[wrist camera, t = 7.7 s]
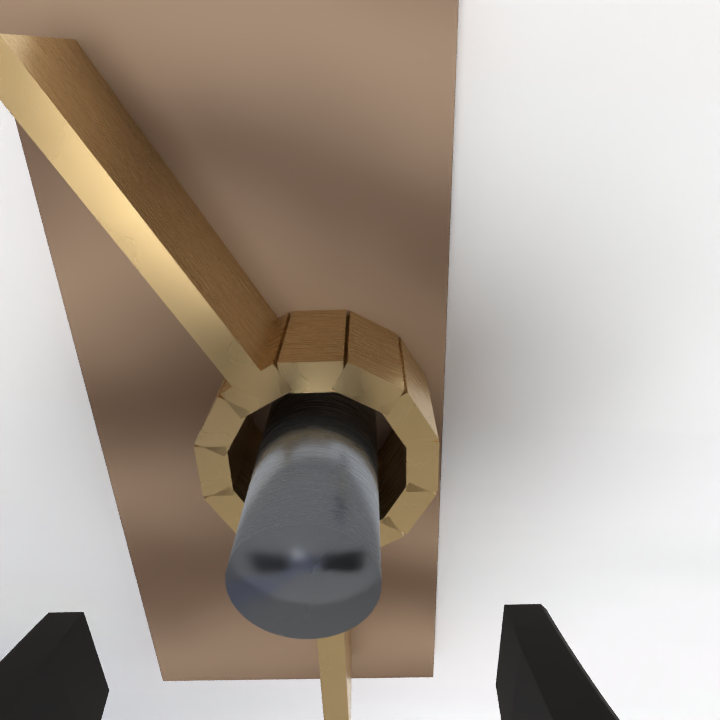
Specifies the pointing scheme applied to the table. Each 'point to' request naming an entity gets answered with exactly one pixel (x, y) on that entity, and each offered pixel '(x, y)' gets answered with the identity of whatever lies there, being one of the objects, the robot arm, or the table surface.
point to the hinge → (224, 307)
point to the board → (258, 271)
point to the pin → (310, 520)
